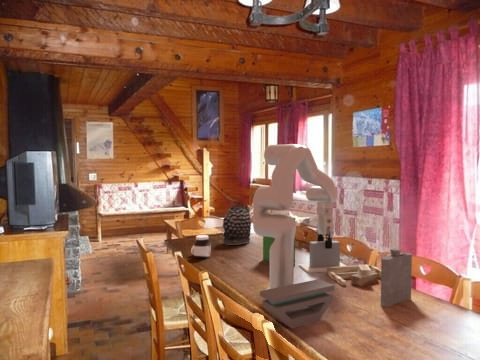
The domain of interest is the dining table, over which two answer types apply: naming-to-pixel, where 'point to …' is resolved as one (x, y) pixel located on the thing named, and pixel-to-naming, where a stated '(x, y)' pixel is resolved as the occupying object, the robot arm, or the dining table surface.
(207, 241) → the spread jar
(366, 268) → the pine offcut
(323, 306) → the sharpening stone
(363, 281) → the walnut offcut
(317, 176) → the robot arm
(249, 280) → the dining table surface
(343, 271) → the rack
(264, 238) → the hardback book
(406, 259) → the hip flask
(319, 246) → the grey rectangular block
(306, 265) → the felt mat
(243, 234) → the bumpy dark dome
